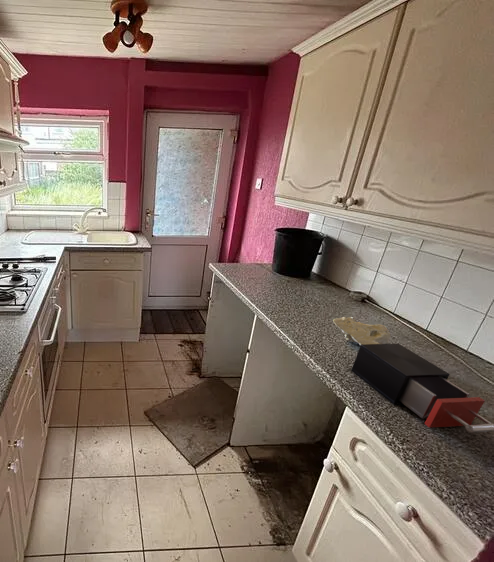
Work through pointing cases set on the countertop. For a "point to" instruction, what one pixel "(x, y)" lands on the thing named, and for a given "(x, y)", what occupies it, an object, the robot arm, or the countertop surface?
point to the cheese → (362, 331)
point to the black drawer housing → (392, 368)
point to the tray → (443, 404)
